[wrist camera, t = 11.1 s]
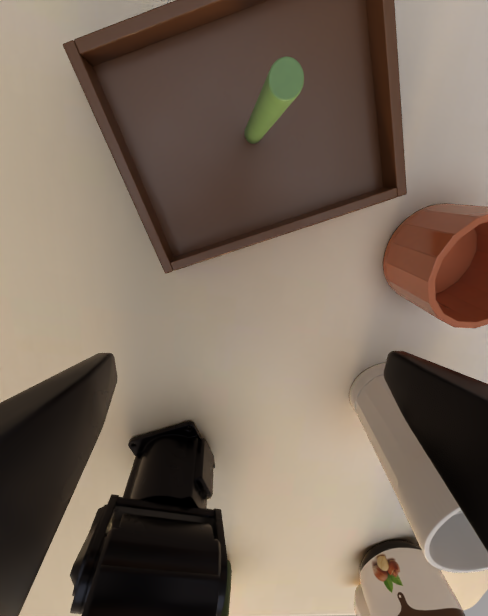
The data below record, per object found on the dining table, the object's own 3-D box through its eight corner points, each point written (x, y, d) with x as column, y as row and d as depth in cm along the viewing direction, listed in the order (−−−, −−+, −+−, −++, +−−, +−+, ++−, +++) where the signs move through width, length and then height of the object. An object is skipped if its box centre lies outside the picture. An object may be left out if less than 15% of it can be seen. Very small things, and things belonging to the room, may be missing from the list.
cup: (368, 344, 24) (489, 473, 13) (440, 368, 26) (599, 500, 15) (325, 411, 27) (397, 565, 16) (393, 429, 29) (499, 579, 18)
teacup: (387, 309, 23) (430, 341, 18) (378, 222, 20) (426, 233, 16) (475, 282, 23) (542, 308, 18) (479, 189, 20) (559, 190, 15)
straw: (247, 146, 17) (273, 106, 9) (242, 126, 17) (263, 63, 8) (264, 140, 17) (307, 94, 9) (259, 120, 17) (300, 49, 8)
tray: (170, 265, 20) (165, 273, 18) (81, 60, 16) (61, 43, 14) (388, 193, 20) (407, 194, 18) (367, -48, 15) (389, -84, 13)
